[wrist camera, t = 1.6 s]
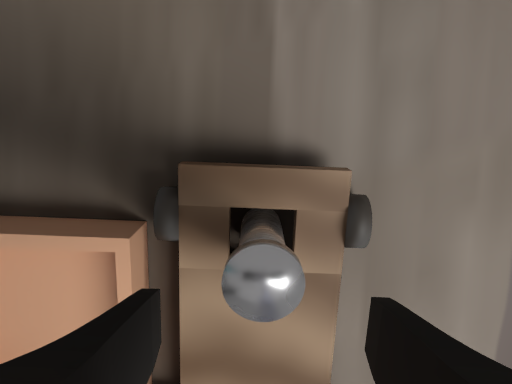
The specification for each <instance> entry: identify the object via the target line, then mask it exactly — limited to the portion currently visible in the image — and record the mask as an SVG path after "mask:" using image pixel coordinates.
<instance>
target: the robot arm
mask: <svg viewBox="0 0 512 384" xmlns="http://www.w3.org/2000/svg"><path fill="white" fill-rule="evenodd" d="M160 345H161V311H160V289H146V288H142V289H140V290H138V291H136V292H135V293H133V294H132V295H130V296H129V297H127V298H126V299H124V300H123V301H121V302H120V303H118V304H117V305H115V306H114V307H112V308H110V309H109V310H107V311H106V312H104V313H103V314H101V315H100V316H98V317H96V318H95V319H93V320H91V321H90V322H88V323H86V324H85V325H83V326H81V327H79V328H78V329H76V330H74V331H73V332H71V333H69V334H67V335H65V336H63V337H61V338H59V339H57V340H55V341H53V342H51V343H49V344H47V345H45V346H43V347H41V348H38V349H36V350H34V351H31V352H29V353H27V354H24V355H22V356H19V357H17V358H14V359H12V360H9V361H7V362H4V363H2V364H0V384H147V383H148V381H149V378H150V376H151V374H152V371H153V368H154V365H155V362H156V359H157V355H158V352H159V348H160ZM365 352H366V356H367V359H368V363H369V366H370V369H371V373H372V376H373V379H374V381H375V383H376V384H512V369H510V368H508V367H506V366H504V365H502V364H500V363H498V362H496V361H494V360H492V359H490V358H488V357H486V356H484V355H482V354H480V353H478V352H476V351H475V350H473V349H471V348H469V347H468V346H466V345H464V344H462V343H461V342H459V341H457V340H456V339H454V338H452V337H451V336H449V335H447V334H446V333H444V332H443V331H441V330H439V329H438V328H436V327H435V326H433V325H432V324H430V323H429V322H427V321H425V320H424V319H422V318H421V317H419V316H418V315H416V314H415V313H413V312H412V311H410V310H409V309H407V308H406V307H404V306H403V305H401V304H400V303H398V302H396V301H395V300H393V299H391V298H382V297H371V305H370V312H369V320H368V328H367V336H366V344H365Z"/></svg>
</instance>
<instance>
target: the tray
mask: <svg viewBox="0 0 512 384" xmlns="http://www.w3.org/2000/svg"><path fill="white" fill-rule="evenodd" d="M142 288H146V289H149V274H148V243H147V221H128V220H102V219H77V218H51V217H26V216H0V364H2V363H4V362H7V361H9V360H12V359H14V358H17V357H19V356H22V355H24V354H27V353H29V352H31V351H34V350H36V349H38V348H41V347H43V346H45V345H47V344H49V343H51V342H53V341H55V340H57V339H59V338H61V337H63V336H65V335H67V334H69V333H71V332H73V331H74V330H76V329H78V328H79V327H81V326H83V325H85V324H86V323H88V322H90V321H91V320H93V319H95V318H96V317H98V316H100V315H101V314H103V313H104V312H106V311H107V310H109V309H110V308H112V307H114V306H115V305H117V304H118V303H120V302H121V301H123V300H124V299H126V298H127V297H129V296H130V295H132V294H133V293H135V292H136V291H138V290H140V289H142ZM147 384H152V374H151V376H150V378H149V381H148V383H147Z"/></svg>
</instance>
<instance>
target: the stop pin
mask: <svg viewBox="0 0 512 384" xmlns="http://www.w3.org/2000/svg"><path fill="white" fill-rule="evenodd" d="M221 286H222V293H223V296H224V298H225V300H226V302H227V304H228V305H229V307H230V308H231V309H232V310H233V311H234V312H235V313H237V314H238V315H240V316H241V317H243V318H245V319H248V320H251V321H255V322H272V321H276V320H279V319H281V318H283V317H285V316H287V315H288V314H290V313H291V312H292V311H293V310H295V308H296V307H297V306H298V305H299V303H300V302H301V300H302V298H303V295H304V292H305V276H304V273H303V269H302V266H301V263H300V261H299V259H298V257H297V256H296V254H295V253H294V252H293V251H292V250H291V249H290V248H289V247H287V246H286V245H285V241H284V236H283V231H282V226H281V222H280V219H279V216H278V215H277V214H276V213H275V212H274V211H273V210H272V209H262V208H253V209H251V210H250V211H248V212H247V213H246V214H245V216H244V218H243V220H242V226H241V233H240V240H239V247H238V248H237V249H235V250H234V251H233V252H232V253H231V255H230V256H229V258H228V259H227V261H226V263H225V266H224V270H223V275H222V282H221Z"/></svg>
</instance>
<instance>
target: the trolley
mask: <svg viewBox="0 0 512 384" xmlns="http://www.w3.org/2000/svg"><path fill="white" fill-rule="evenodd" d="M351 176H352V171H351V170H350V169H348V168H336V167H311V166H286V165H261V164H236V163H211V162H186V161H182V162H180V163H179V164H178V187H161V188H160V189H159V190H158V193H157V196H156V199H155V205H154V231H155V236H156V238H157V239H158V240H166V241H179V299H180V384H330V380H331V370H332V360H333V351H334V341H335V331H336V322H337V312H338V302H339V292H340V283H341V273H342V263H343V254H344V247H346V248H365V247H366V246H367V245H368V243H369V240H370V236H371V230H372V210H371V205H370V201H369V199H368V197H367V196H366V195H357V194H350V186H351ZM231 207H237V208H262V209H288V210H295V214H294V229H293V244H292V251H293V252H294V253H295V254H296V256H297V257H298V259H299V261H300V263H301V266H302V269H303V273H304V276H305V292H304V295H303V298H302V300H301V302H300V303H299V305H298V306H297V307H296V308H295V310H293V311H292V312H291V313H290V314H288V315H287V316H285V317H283V318H281V319H279V320H276V321H272V322H255V321H251V320H248V319H245V318H243V317H241V316H240V315H238V314H237V313H235V312H234V311H233V310H232V309H231V308H230V307H229V305H228V304H227V302H226V300H225V298H224V296H223V293H222V286H221V282H222V275H223V270H224V266H225V263H226V261H227V259H228V258H229V255H230V213H231Z"/></svg>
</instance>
